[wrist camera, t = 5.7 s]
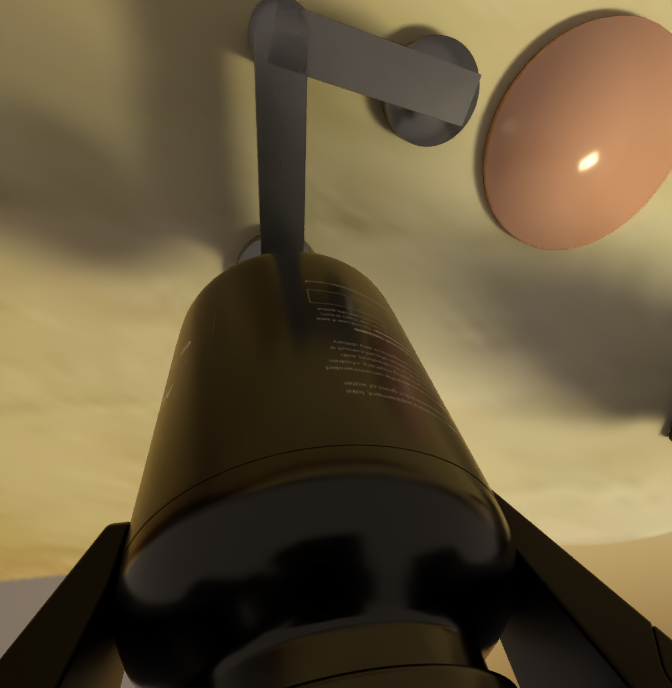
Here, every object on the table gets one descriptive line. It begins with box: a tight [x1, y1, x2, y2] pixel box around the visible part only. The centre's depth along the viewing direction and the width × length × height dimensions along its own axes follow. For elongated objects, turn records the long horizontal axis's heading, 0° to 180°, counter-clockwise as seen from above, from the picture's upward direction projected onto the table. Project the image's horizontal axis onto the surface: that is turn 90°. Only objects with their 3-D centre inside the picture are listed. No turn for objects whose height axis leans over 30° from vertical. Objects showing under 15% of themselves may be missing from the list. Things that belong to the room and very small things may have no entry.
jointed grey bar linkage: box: [237, 0, 481, 264], centre depth 16 cm, size 11×11×4 cm
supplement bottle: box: [112, 251, 517, 688], centre depth 9 cm, size 7×7×12 cm
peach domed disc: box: [483, 16, 672, 250], centre depth 19 cm, size 9×9×1 cm
